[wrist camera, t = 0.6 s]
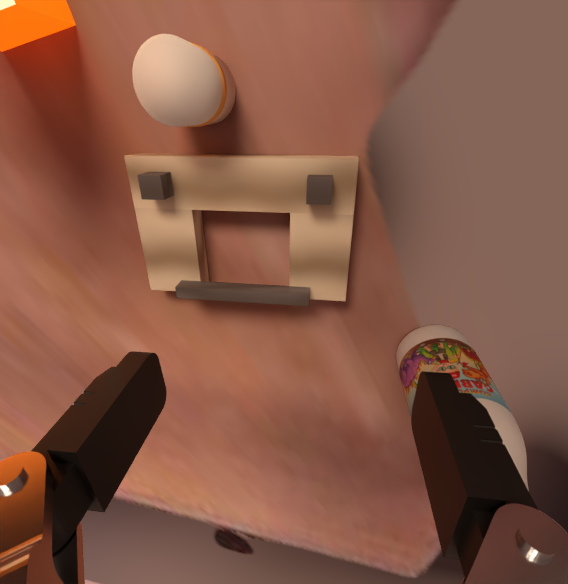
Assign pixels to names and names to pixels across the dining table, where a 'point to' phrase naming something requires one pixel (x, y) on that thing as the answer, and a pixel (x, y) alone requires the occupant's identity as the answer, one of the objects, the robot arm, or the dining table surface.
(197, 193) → the shelf board
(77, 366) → the dining table surface
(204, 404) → the dining table surface
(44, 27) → the orange juice
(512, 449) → the milk bottle
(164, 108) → the orange-banded white cylinder
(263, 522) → the dining table surface
